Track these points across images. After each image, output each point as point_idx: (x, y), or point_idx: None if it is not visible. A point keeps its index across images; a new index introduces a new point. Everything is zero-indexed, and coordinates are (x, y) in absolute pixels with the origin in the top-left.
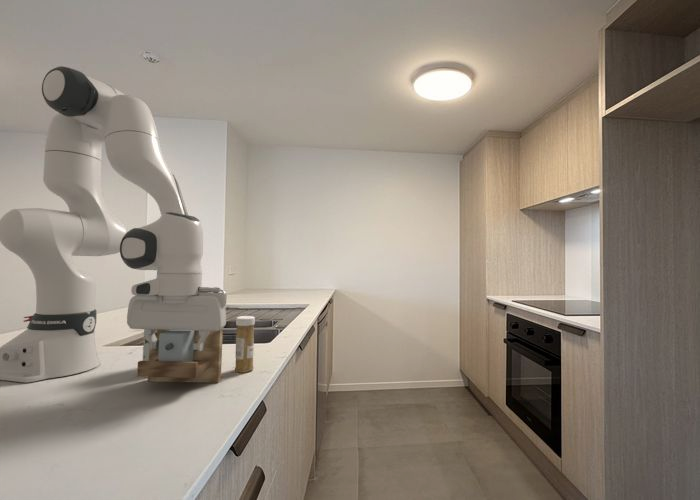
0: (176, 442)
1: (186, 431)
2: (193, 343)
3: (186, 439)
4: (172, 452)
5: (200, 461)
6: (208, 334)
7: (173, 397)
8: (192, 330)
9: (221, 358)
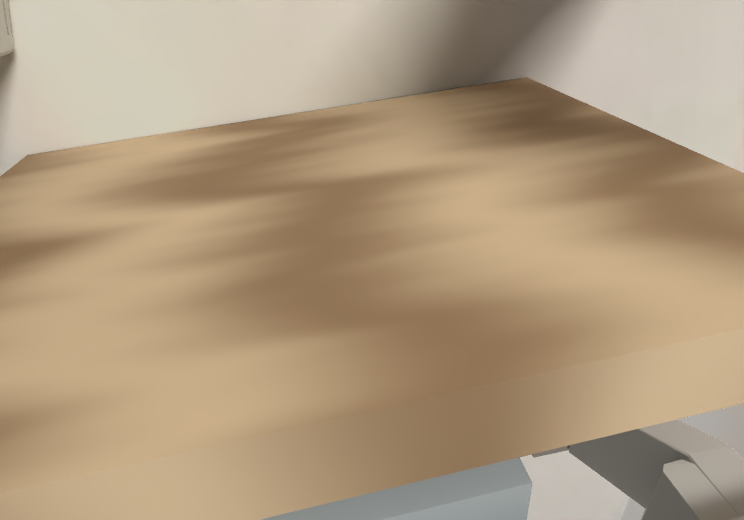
0: (543, 484)
1: (547, 454)
2: (532, 454)
3: (560, 472)
4: (550, 502)
5: (612, 501)
6: (714, 443)
7: None
8: (525, 512)
9: (619, 122)
